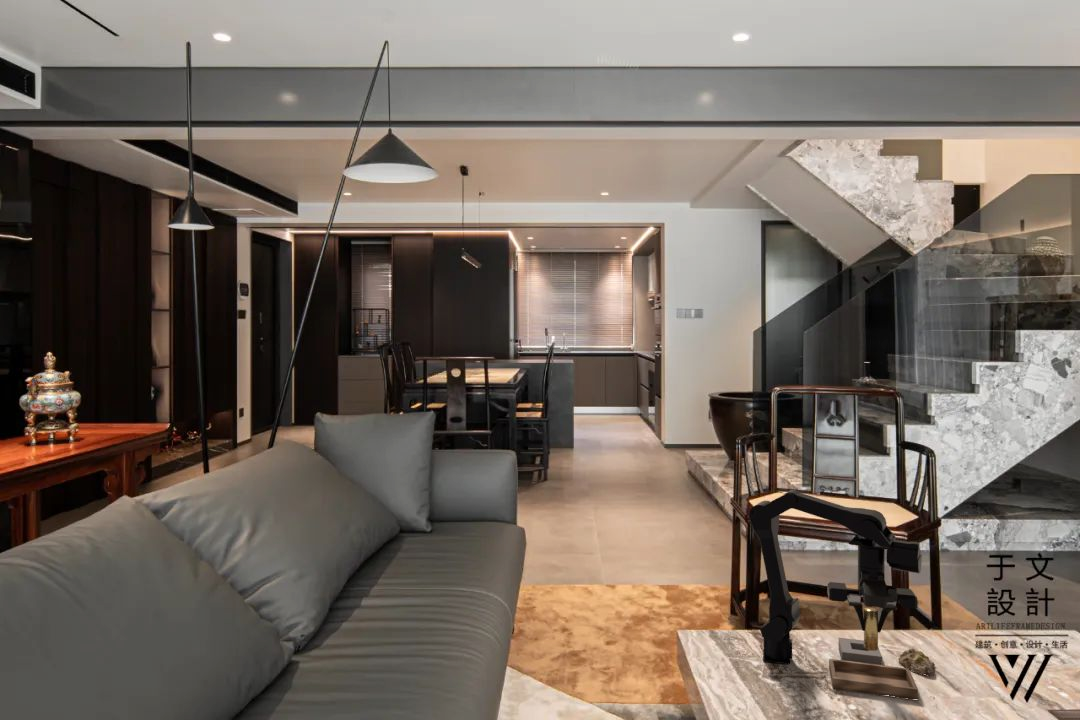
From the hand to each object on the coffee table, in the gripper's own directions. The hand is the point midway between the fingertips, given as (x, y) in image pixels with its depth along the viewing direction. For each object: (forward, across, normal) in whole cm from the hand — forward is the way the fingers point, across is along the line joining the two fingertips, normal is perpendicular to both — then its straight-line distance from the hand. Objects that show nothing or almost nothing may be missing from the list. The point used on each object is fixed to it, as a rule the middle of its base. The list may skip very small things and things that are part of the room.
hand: (870, 631), depth 163 cm
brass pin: (+4, 0, 0) cm, 4 cm away
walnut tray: (+12, 0, -1) cm, 12 cm away
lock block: (+12, -1, +12) cm, 17 cm away
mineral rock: (+13, +12, +12) cm, 21 cm away
